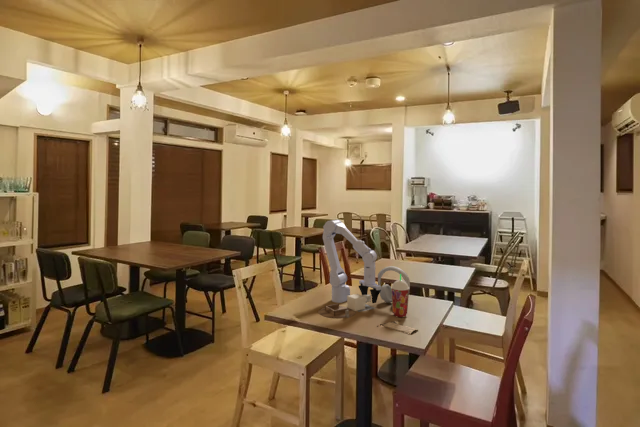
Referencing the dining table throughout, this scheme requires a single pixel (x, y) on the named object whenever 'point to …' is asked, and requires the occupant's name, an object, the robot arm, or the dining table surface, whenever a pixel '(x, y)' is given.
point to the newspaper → (399, 327)
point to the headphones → (386, 289)
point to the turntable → (336, 311)
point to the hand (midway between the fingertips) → (369, 300)
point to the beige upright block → (357, 301)
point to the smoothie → (400, 298)
